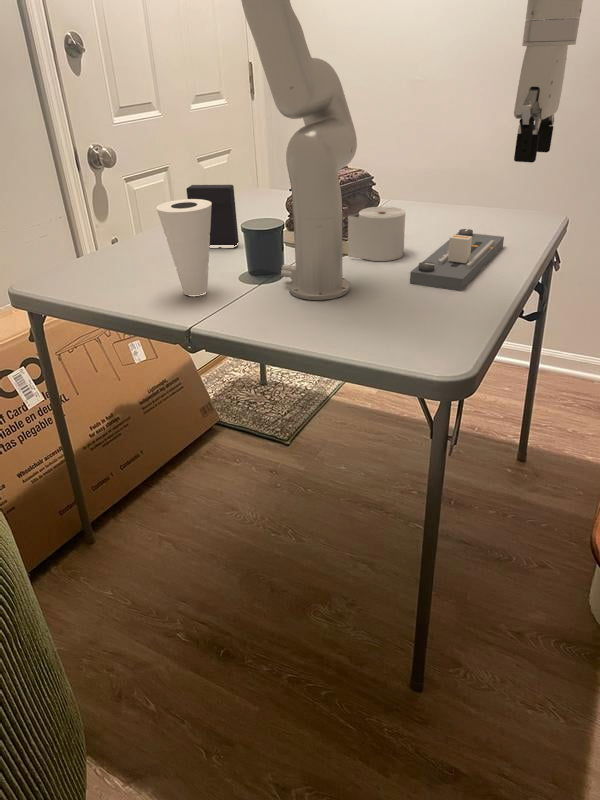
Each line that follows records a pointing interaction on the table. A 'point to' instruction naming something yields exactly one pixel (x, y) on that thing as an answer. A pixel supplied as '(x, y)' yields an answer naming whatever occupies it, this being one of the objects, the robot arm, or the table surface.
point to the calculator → (219, 211)
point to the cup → (188, 240)
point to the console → (456, 263)
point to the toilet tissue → (377, 234)
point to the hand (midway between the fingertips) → (532, 156)
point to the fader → (459, 248)
